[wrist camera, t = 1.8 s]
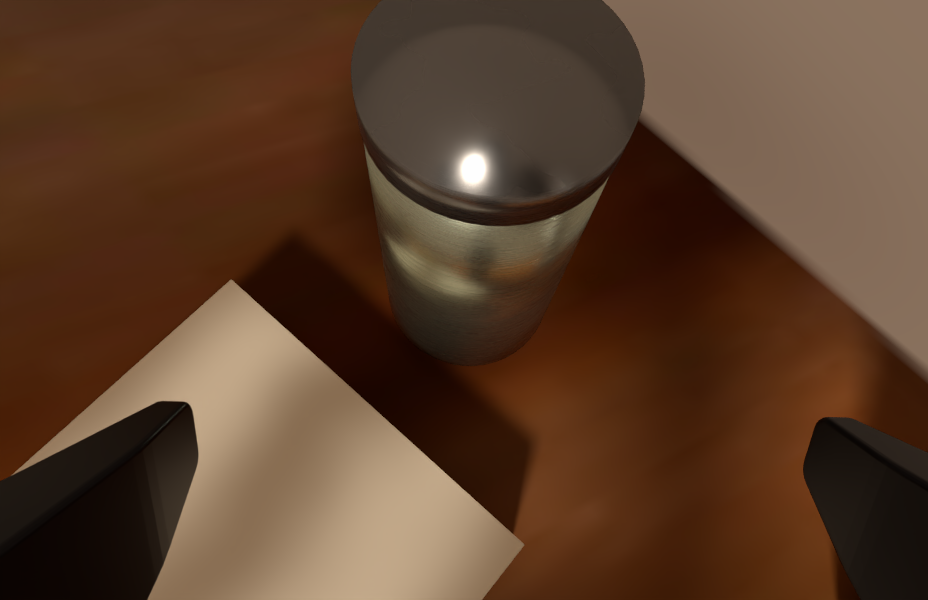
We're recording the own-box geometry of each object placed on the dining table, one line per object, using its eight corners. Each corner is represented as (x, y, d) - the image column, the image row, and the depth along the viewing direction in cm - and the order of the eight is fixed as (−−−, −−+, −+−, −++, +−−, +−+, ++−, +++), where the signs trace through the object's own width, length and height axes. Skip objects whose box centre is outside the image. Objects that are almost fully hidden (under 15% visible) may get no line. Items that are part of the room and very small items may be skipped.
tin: (579, 284, 25) (700, 63, 14) (477, 401, 23) (520, 256, 12) (460, 191, 26) (482, -80, 15) (353, 294, 24) (288, 73, 13)
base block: (510, 546, 21) (524, 544, 18) (231, 903, 18) (185, 982, 14) (258, 317, 24) (231, 279, 20) (-32, 588, 20) (-122, 594, 17)
